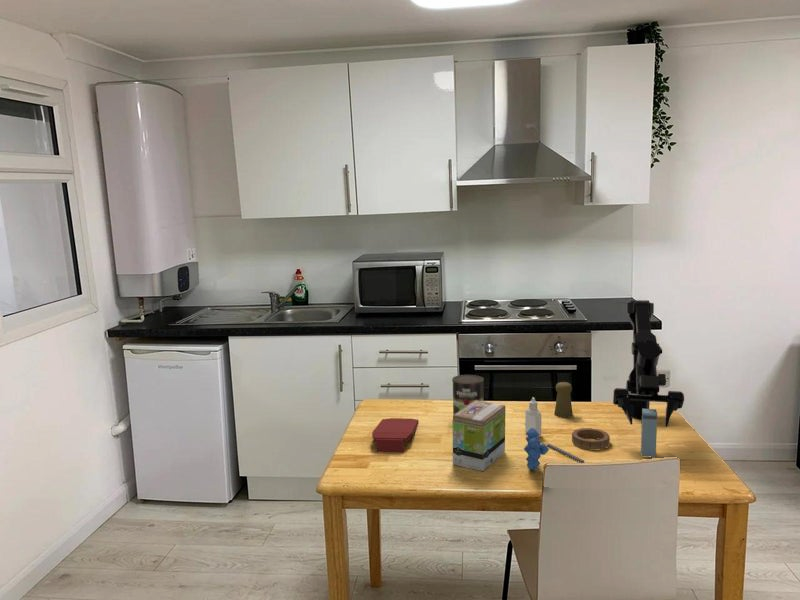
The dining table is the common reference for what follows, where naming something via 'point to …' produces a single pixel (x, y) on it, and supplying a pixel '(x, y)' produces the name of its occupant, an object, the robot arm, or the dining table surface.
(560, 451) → the thin gray square rod
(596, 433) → the bead ring
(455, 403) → the coffee can
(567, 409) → the cork
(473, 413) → the tea box
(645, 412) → the blue-gray square peg
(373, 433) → the red lunch box
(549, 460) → the dining table surface
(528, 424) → the eye dropper bottle
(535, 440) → the grapes
